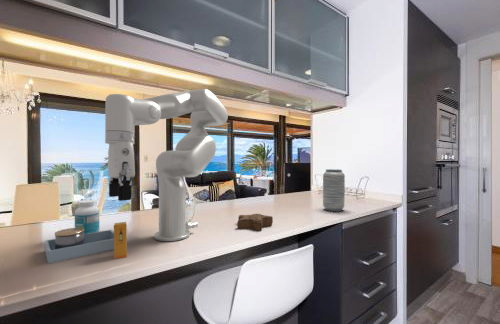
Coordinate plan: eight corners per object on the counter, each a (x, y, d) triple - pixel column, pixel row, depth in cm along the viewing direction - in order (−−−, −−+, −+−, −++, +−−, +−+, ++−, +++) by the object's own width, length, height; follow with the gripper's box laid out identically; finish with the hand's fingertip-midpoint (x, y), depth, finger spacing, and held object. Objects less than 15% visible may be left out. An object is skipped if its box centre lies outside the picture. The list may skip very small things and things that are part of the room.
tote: (111, 240, 88) (111, 229, 88) (121, 249, 79) (121, 237, 79) (45, 252, 76) (45, 240, 76) (48, 265, 67) (48, 251, 67)
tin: (82, 246, 80) (82, 226, 80) (86, 252, 75) (86, 231, 75) (53, 251, 76) (53, 230, 75) (56, 258, 70) (56, 236, 70)
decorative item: (278, 217, 106) (250, 217, 97) (277, 232, 106) (248, 233, 97) (255, 211, 119) (228, 211, 110) (254, 224, 118) (227, 225, 109)
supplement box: (127, 254, 75) (127, 221, 75) (126, 258, 72) (126, 223, 72) (114, 256, 74) (114, 222, 73) (113, 260, 70) (113, 225, 70)
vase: (331, 212, 135) (331, 170, 135) (318, 208, 146) (319, 169, 146) (349, 211, 139) (349, 169, 139) (335, 207, 150) (335, 169, 150)
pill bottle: (70, 239, 88) (70, 201, 88) (93, 234, 94) (93, 198, 94) (80, 243, 84) (80, 203, 84) (103, 238, 90) (103, 200, 90)
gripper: (144, 137, 68) (143, 200, 68) (125, 141, 81) (124, 194, 81) (113, 135, 63) (113, 203, 63) (98, 139, 76) (98, 196, 76)
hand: (119, 198), depth 72 cm, fingers open, 9 cm apart
